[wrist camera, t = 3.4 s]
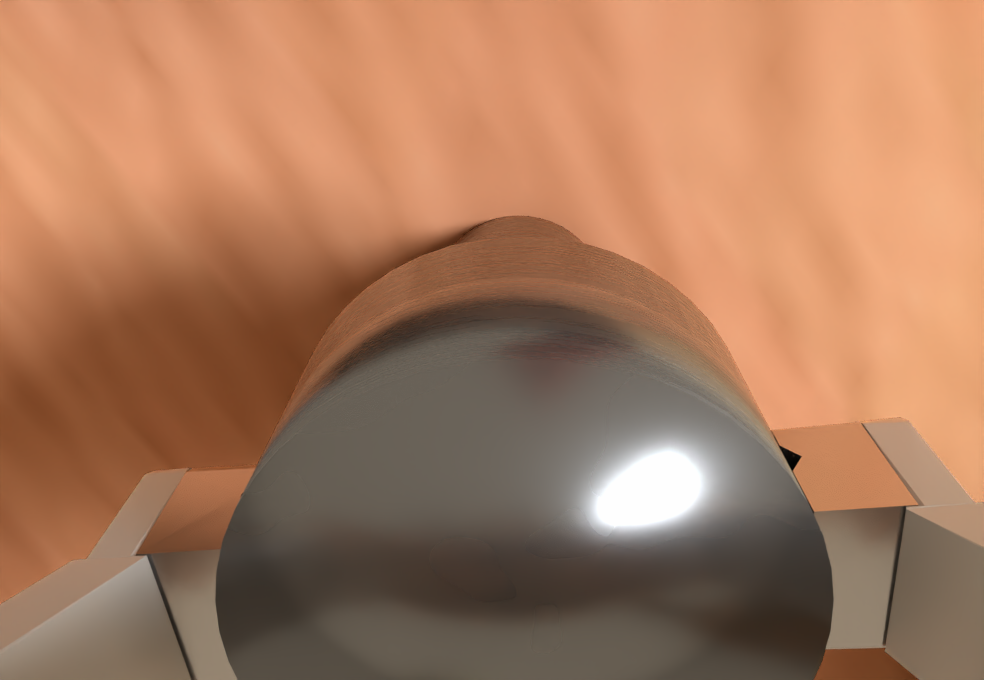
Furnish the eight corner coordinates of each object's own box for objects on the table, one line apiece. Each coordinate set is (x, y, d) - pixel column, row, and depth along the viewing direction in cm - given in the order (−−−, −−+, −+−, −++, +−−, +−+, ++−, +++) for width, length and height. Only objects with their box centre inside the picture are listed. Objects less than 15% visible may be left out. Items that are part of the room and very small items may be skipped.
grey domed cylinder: (445, 469, 16) (388, 878, 9) (305, 218, 14) (89, 499, 7) (718, 369, 15) (897, 747, 8) (610, 82, 13) (724, 249, 6)
